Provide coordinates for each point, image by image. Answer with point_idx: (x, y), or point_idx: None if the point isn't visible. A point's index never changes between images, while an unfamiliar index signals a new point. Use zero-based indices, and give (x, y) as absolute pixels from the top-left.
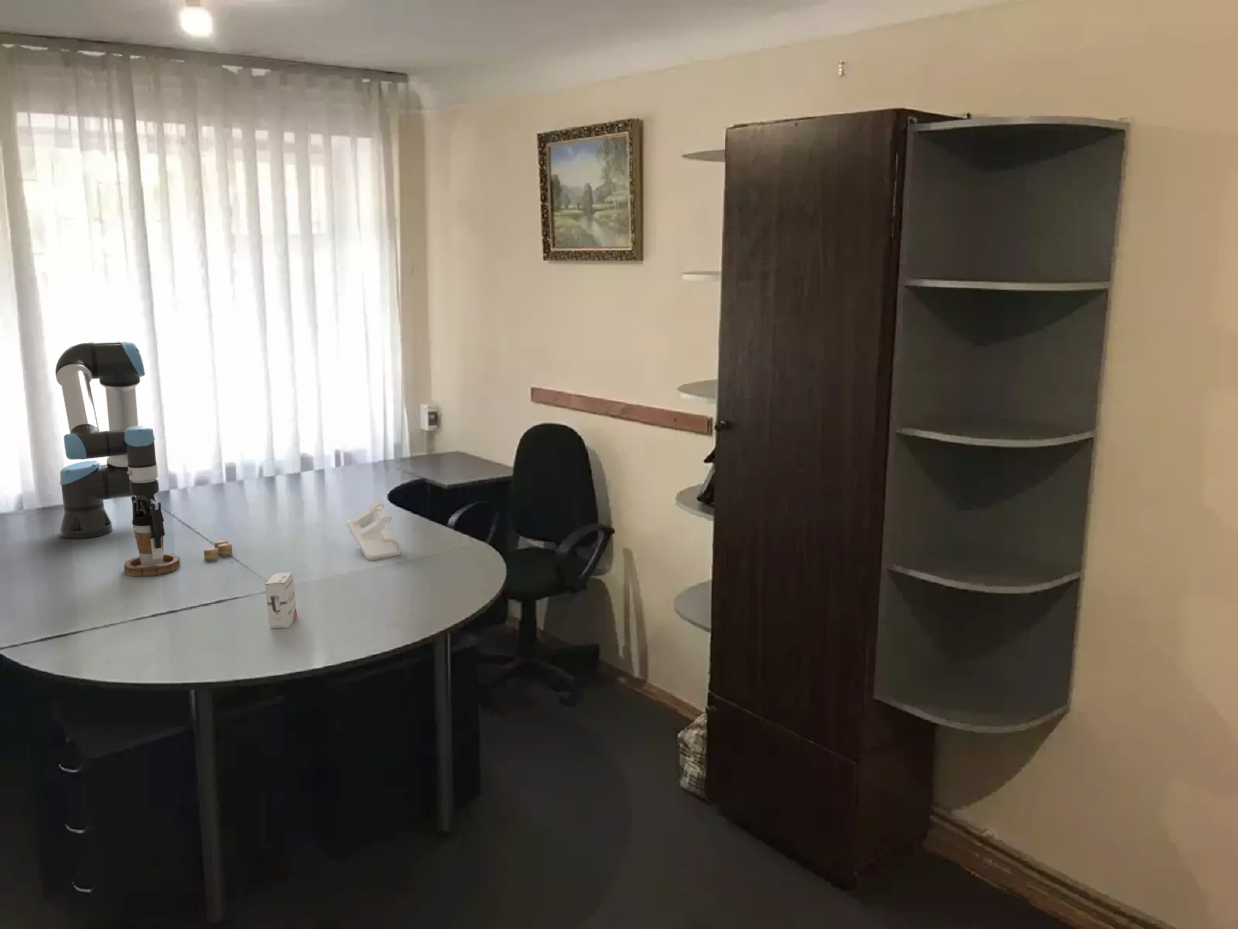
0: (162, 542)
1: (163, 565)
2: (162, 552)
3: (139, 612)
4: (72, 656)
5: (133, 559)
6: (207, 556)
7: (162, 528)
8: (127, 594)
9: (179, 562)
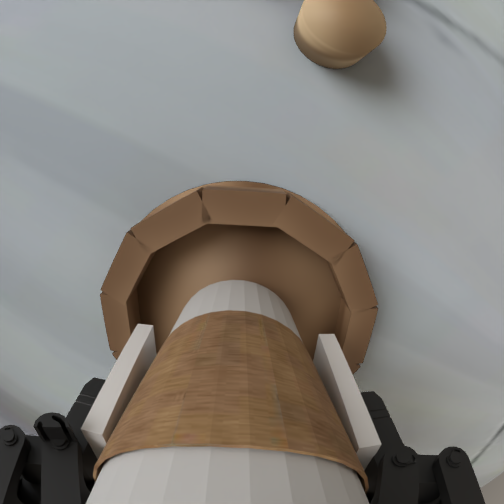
0: (310, 369)
1: (363, 334)
2: (341, 353)
3: (490, 428)
4: (483, 479)
5: None
6: (356, 59)
7: (473, 498)
8: (405, 438)
9: (308, 206)
